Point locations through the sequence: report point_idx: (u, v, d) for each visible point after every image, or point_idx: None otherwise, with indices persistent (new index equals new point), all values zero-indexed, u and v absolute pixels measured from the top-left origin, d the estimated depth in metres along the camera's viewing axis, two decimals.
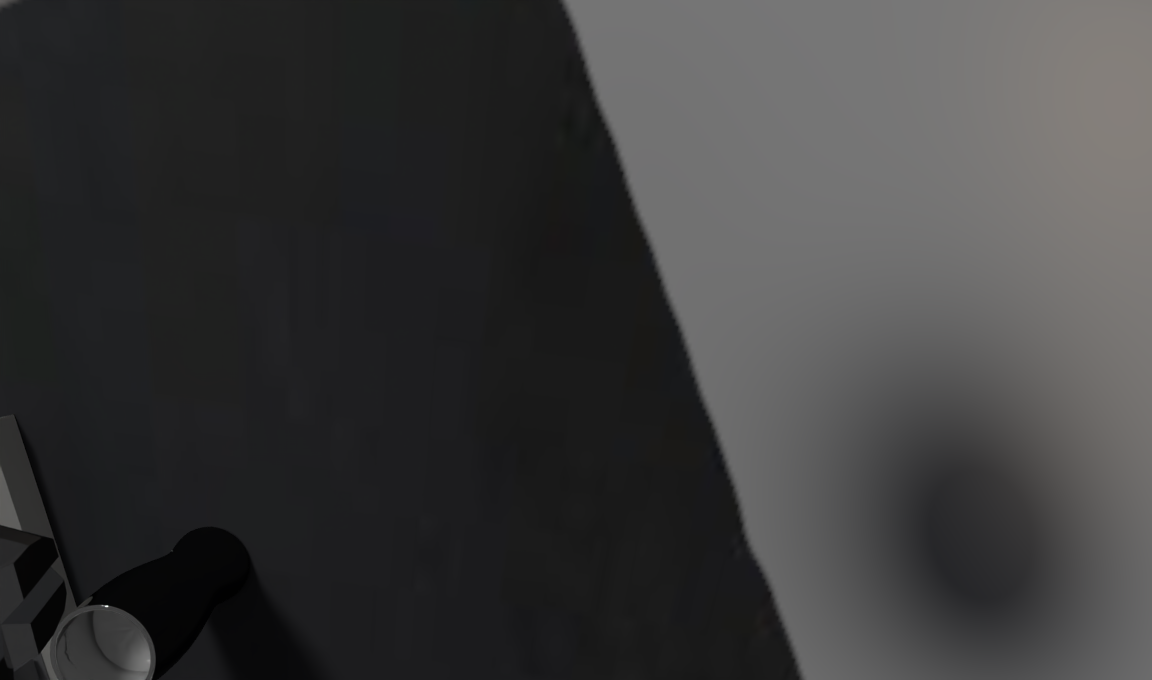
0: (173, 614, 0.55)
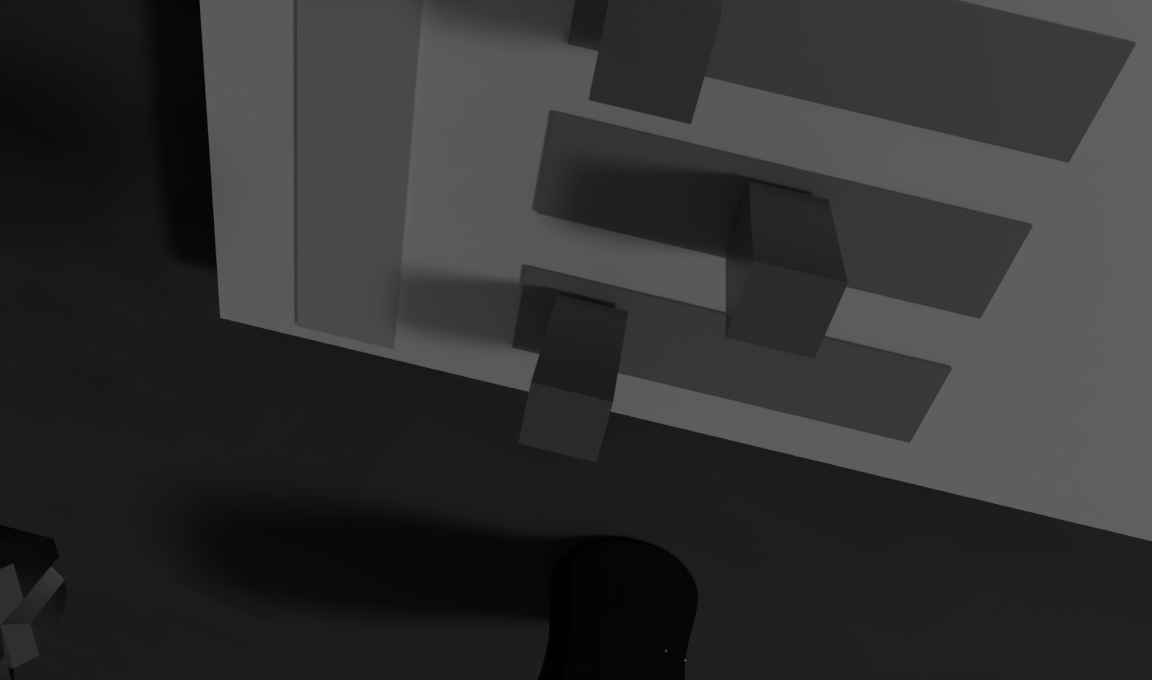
0: None
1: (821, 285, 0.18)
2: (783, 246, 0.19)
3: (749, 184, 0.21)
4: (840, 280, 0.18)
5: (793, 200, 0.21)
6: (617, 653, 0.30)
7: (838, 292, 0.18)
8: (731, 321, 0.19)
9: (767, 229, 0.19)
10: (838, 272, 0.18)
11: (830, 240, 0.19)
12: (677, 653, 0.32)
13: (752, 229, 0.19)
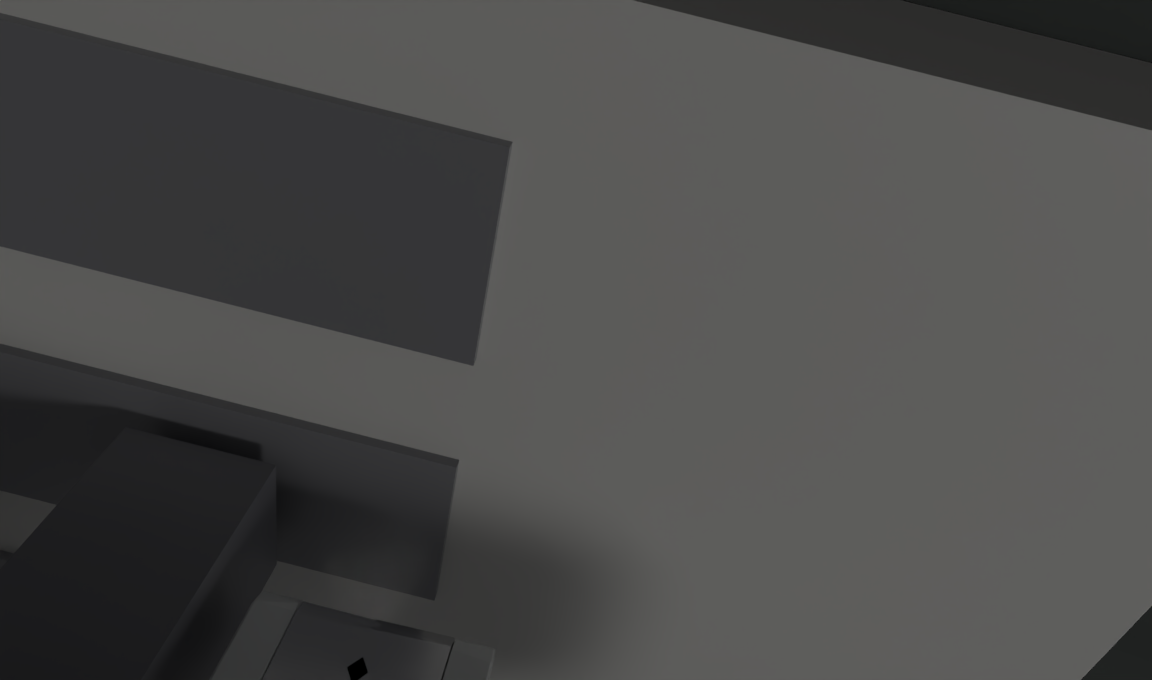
0: None
1: None
2: (15, 641, 0.09)
3: (115, 439, 0.11)
4: None
5: (185, 476, 0.11)
6: None
7: None
8: None
9: (29, 582, 0.09)
10: None
11: (171, 600, 0.09)
12: None
13: None
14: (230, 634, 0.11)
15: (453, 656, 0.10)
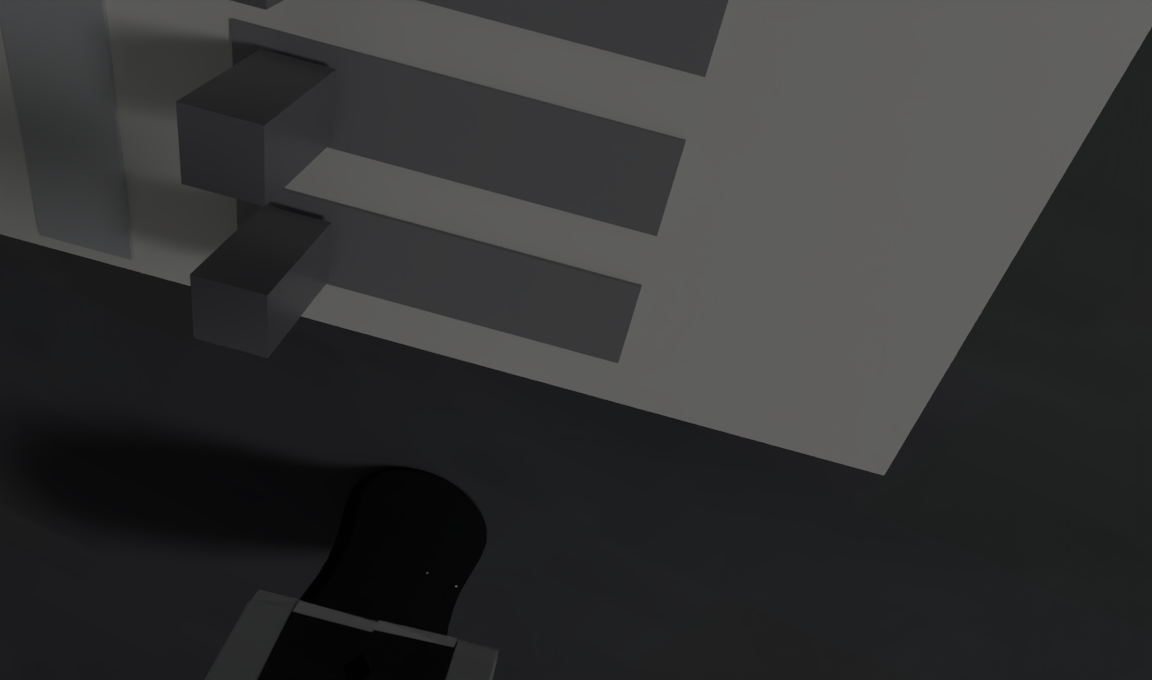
0: None
1: (242, 128, 0.19)
2: (226, 95, 0.19)
3: (256, 51, 0.22)
4: (258, 123, 0.19)
5: (292, 66, 0.22)
6: (373, 571, 0.31)
7: (259, 135, 0.19)
8: (181, 166, 0.20)
9: (227, 82, 0.20)
10: (264, 117, 0.19)
11: (291, 96, 0.20)
12: (443, 577, 0.32)
13: (209, 81, 0.20)
14: (312, 151, 0.22)
15: (455, 656, 0.10)
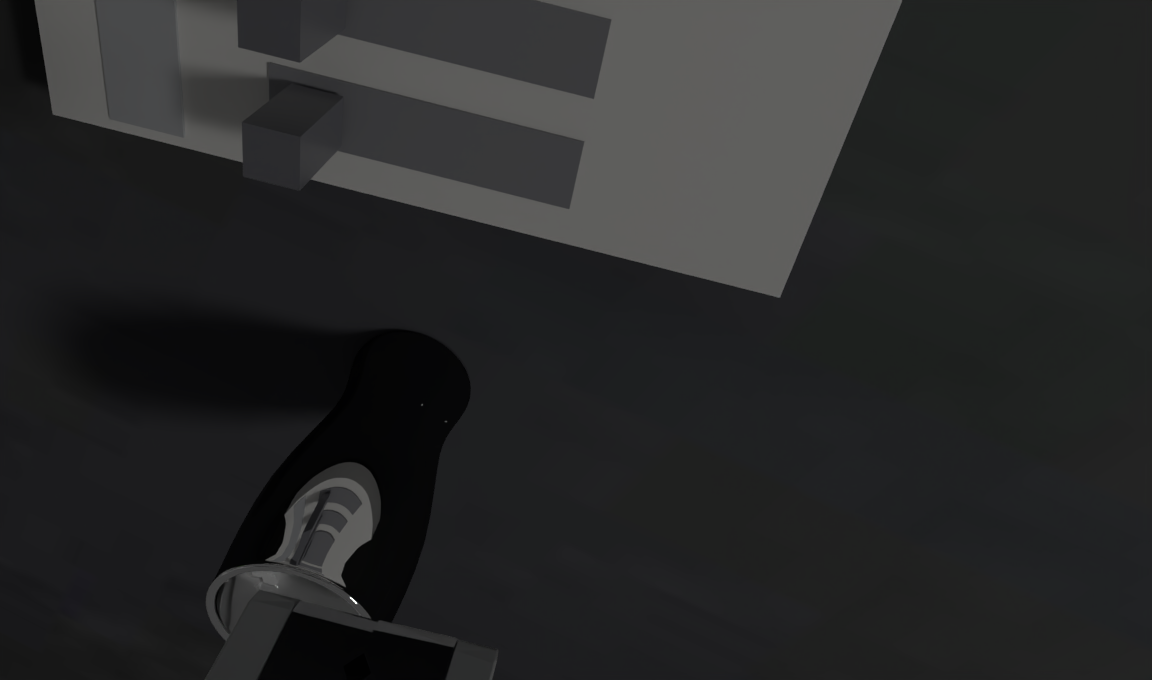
0: None
1: (284, 0, 0.26)
2: None
3: None
4: None
5: None
6: (378, 400, 0.38)
7: (297, 5, 0.26)
8: (238, 33, 0.27)
9: None
10: None
11: None
12: (434, 411, 0.40)
13: None
14: (331, 31, 0.29)
15: (454, 657, 0.10)
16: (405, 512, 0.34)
